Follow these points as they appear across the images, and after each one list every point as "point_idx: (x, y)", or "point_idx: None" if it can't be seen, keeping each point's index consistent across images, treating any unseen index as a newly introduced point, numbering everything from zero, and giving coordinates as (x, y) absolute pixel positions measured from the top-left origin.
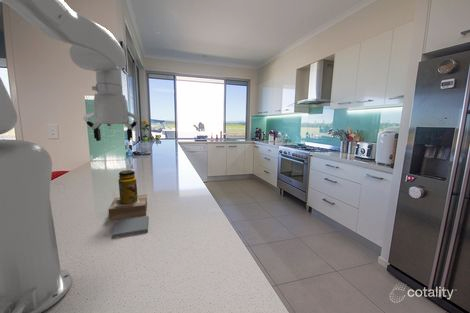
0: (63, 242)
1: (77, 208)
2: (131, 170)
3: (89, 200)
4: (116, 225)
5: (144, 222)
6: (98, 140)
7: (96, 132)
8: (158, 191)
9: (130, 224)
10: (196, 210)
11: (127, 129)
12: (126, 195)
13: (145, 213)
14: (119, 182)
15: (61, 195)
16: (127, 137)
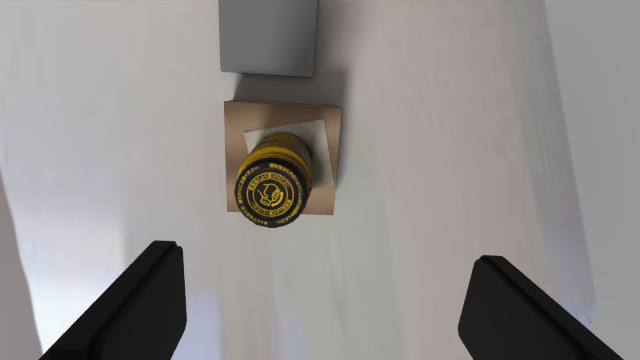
0: (434, 7)
1: (431, 231)
2: (250, 215)
3: (407, 284)
4: (312, 34)
5: (230, 19)
6: (480, 260)
7: (564, 318)
8: (201, 297)
9: (272, 24)
10: (57, 70)
11: (79, 344)
12: (284, 136)
13: (232, 100)
14: (307, 163)
15: None
16: (166, 259)
